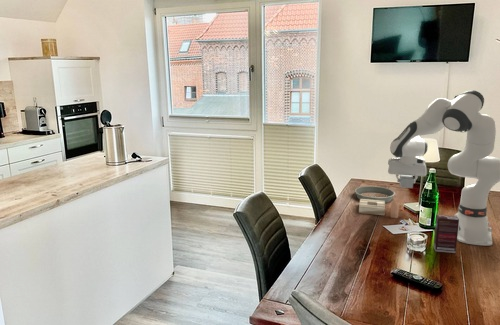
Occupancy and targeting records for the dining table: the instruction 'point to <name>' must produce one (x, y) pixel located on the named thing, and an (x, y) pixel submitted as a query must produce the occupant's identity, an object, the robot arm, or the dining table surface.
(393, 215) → the peg
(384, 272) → the dining table surface
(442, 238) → the supplement box
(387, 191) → the cake pan
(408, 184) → the grey rectangular block
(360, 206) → the socket board
